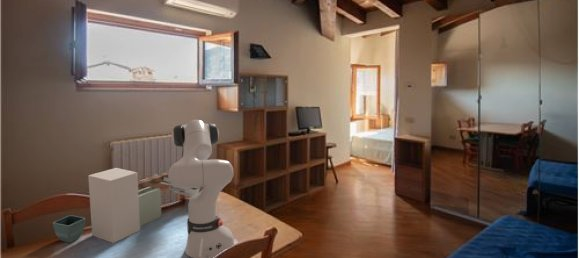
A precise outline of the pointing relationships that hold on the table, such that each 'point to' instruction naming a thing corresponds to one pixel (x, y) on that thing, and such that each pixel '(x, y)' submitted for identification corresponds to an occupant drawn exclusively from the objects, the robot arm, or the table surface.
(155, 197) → the step
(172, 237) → the table surface
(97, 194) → the tall white pillar
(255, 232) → the table surface
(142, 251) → the table surface
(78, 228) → the flower pot
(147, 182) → the walnut bar
